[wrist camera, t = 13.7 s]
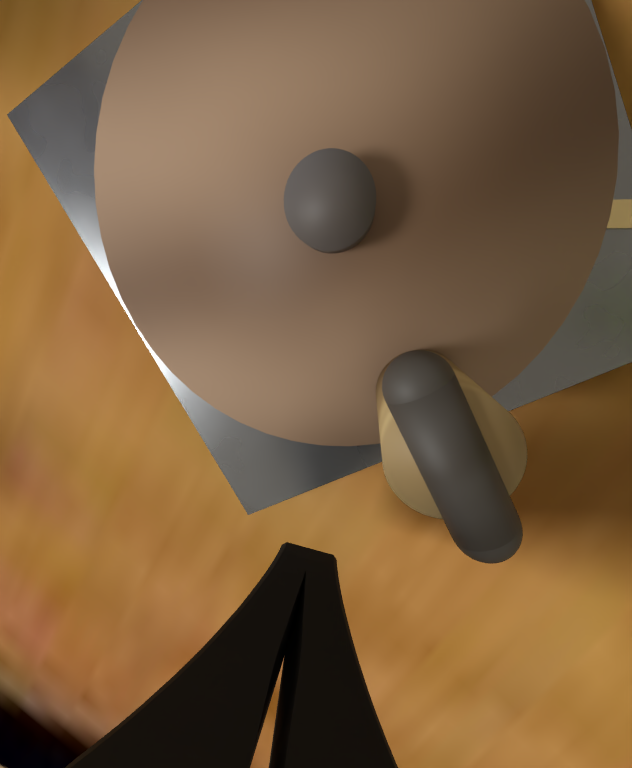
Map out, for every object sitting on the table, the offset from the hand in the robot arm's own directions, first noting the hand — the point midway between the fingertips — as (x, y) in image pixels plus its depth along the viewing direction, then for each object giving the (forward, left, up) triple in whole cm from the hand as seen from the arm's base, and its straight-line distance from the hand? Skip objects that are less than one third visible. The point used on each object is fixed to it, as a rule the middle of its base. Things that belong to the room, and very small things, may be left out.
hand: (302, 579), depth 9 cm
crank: (-7, +5, -2) cm, 9 cm away
